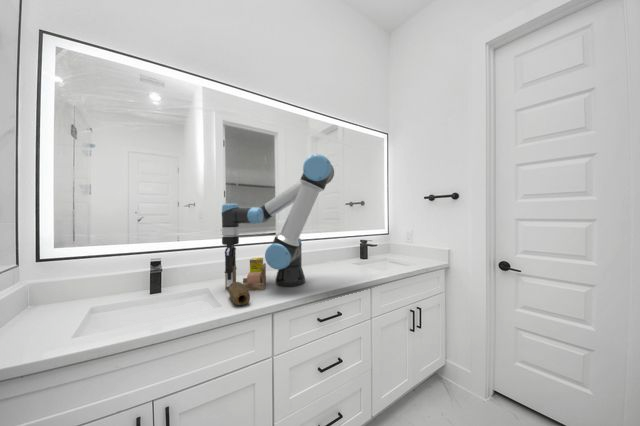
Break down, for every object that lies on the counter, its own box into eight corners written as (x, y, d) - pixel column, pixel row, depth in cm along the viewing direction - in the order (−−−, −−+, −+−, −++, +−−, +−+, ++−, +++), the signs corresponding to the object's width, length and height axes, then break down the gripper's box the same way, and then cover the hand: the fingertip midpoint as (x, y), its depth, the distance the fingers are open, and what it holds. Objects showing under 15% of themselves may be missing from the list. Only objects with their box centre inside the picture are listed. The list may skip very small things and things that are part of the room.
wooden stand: (265, 282, 122) (265, 263, 122) (264, 289, 111) (264, 268, 111) (243, 284, 120) (243, 264, 120) (239, 291, 109) (239, 269, 109)
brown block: (261, 283, 119) (261, 264, 120) (260, 288, 113) (260, 267, 113) (228, 285, 117) (227, 265, 117) (224, 290, 110) (224, 268, 110)
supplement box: (260, 279, 128) (260, 259, 128) (249, 279, 128) (249, 259, 128) (263, 276, 134) (263, 257, 134) (252, 276, 134) (252, 257, 134)
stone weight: (225, 297, 101) (225, 282, 101) (241, 294, 105) (241, 279, 105) (234, 309, 88) (234, 291, 88) (253, 305, 92) (253, 287, 92)
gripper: (226, 234, 122) (226, 280, 122) (217, 237, 105) (217, 291, 104) (241, 234, 123) (241, 279, 123) (235, 237, 106) (235, 289, 106)
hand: (230, 284), depth 114 cm, fingers closed on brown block, 4 cm apart
